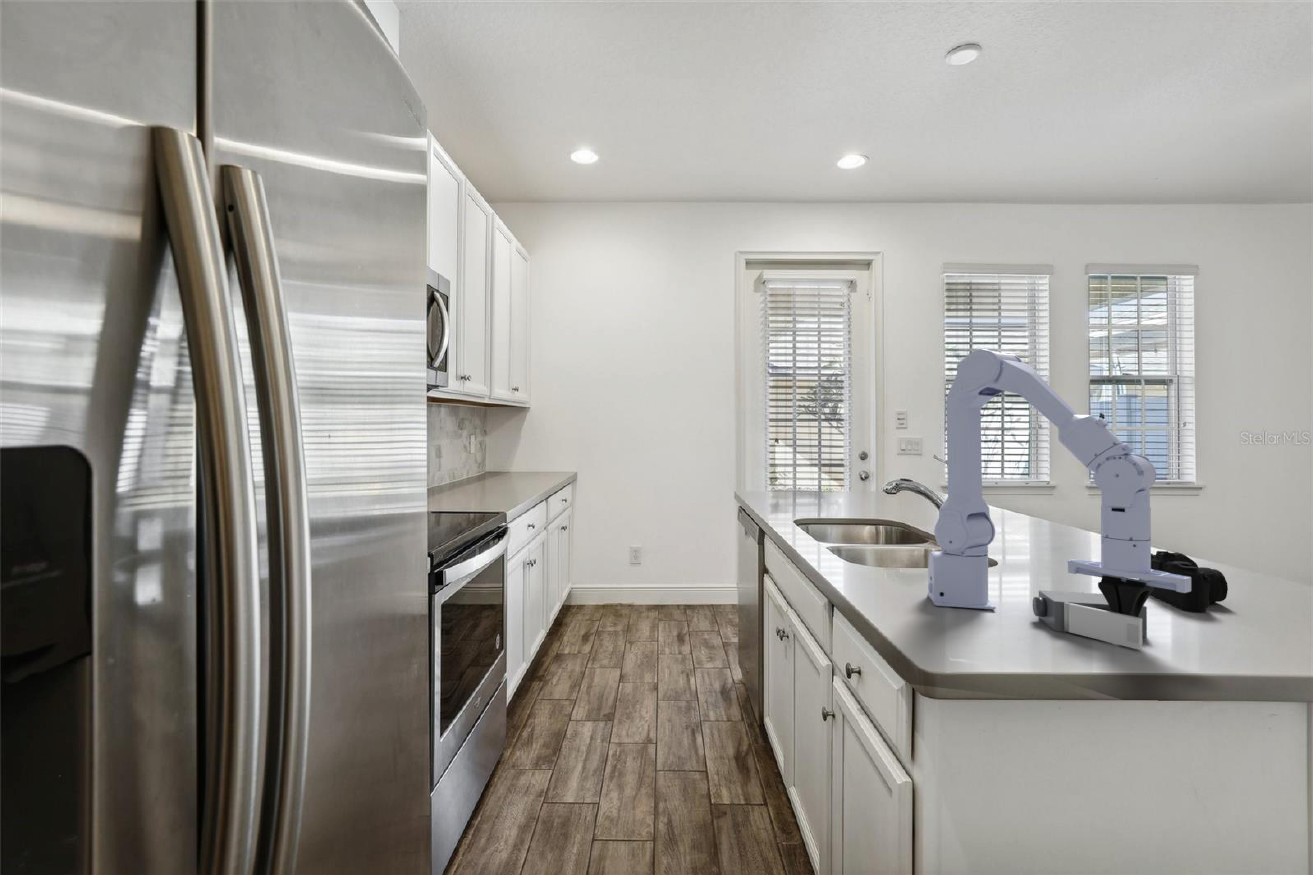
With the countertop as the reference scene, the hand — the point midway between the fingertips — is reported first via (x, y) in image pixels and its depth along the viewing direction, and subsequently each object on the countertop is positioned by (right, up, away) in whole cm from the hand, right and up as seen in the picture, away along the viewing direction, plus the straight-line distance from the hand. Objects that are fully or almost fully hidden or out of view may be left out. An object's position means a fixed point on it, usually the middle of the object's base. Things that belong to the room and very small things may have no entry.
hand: (1125, 631), depth 88 cm
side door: (-3, -1, 0) cm, 4 cm away
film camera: (+27, -2, +21) cm, 35 cm away
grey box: (0, -1, +7) cm, 7 cm away
